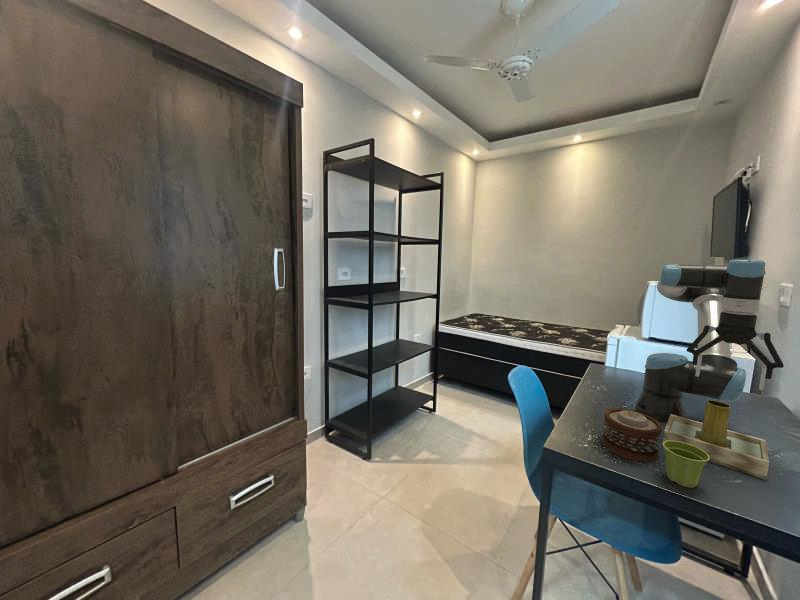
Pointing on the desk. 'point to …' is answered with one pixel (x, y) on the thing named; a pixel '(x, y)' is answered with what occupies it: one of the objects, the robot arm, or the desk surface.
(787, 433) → the desk surface
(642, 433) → the spiked roller
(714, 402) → the vase
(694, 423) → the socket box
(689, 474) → the plant pot
